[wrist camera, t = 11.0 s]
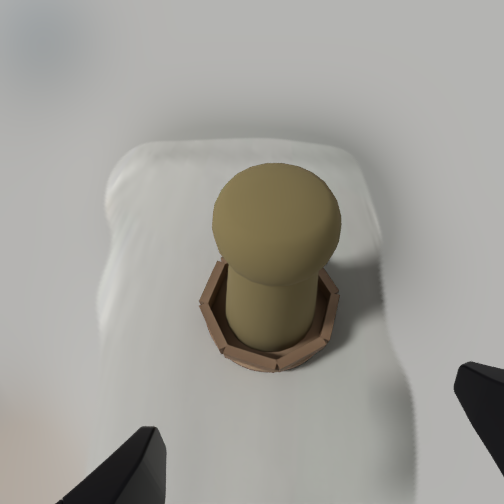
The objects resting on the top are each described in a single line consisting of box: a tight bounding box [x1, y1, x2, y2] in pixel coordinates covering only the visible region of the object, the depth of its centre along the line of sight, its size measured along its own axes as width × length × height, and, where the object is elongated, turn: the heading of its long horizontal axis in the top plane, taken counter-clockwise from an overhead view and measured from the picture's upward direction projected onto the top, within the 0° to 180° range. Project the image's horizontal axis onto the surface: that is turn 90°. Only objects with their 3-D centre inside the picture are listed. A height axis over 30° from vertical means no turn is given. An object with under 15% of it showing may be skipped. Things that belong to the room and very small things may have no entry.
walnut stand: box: [199, 257, 340, 373], centre depth 20 cm, size 9×9×2 cm
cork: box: [212, 163, 341, 352], centre depth 15 cm, size 6×6×11 cm
